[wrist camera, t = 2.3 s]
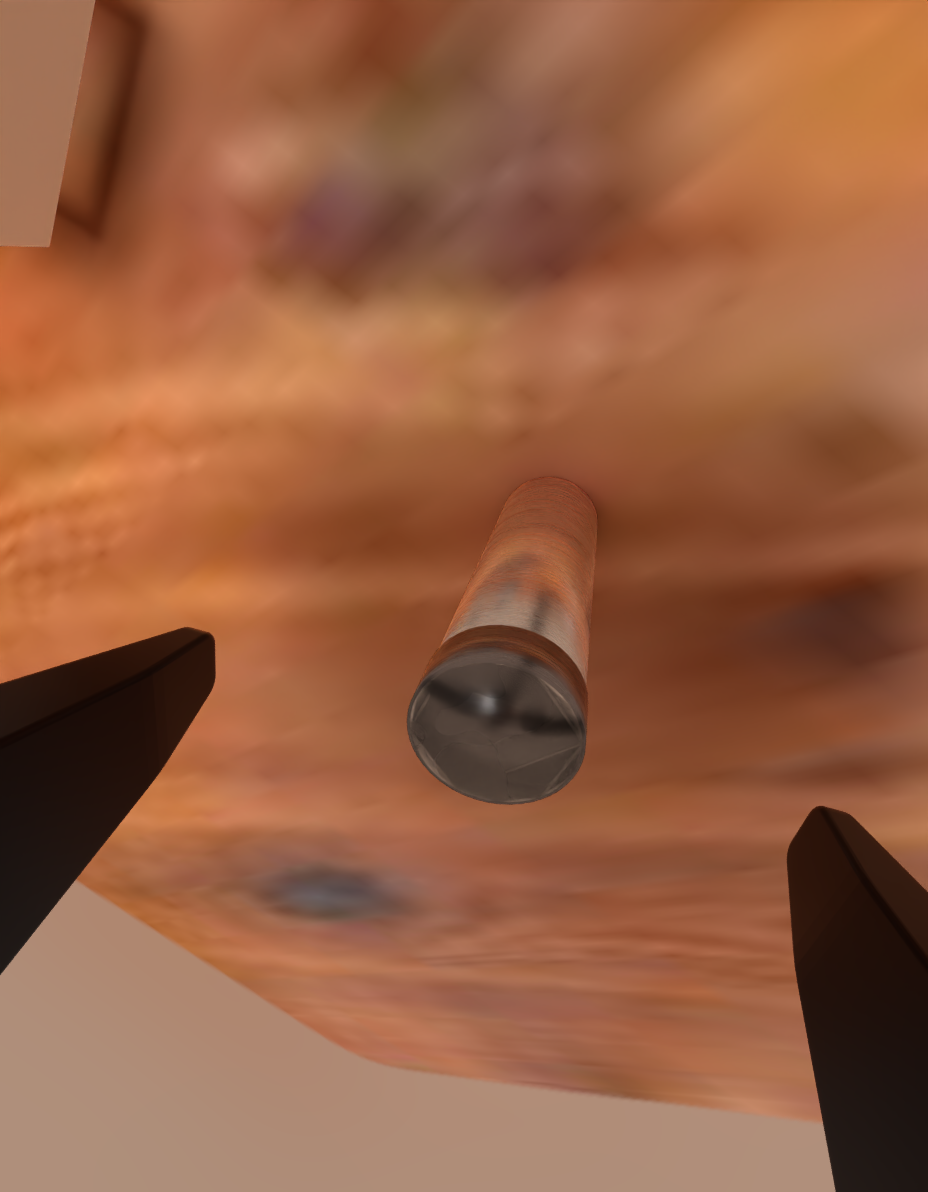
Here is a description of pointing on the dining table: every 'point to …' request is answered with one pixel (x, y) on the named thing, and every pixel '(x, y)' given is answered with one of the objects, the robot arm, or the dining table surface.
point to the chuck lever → (37, 110)
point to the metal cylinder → (515, 655)
